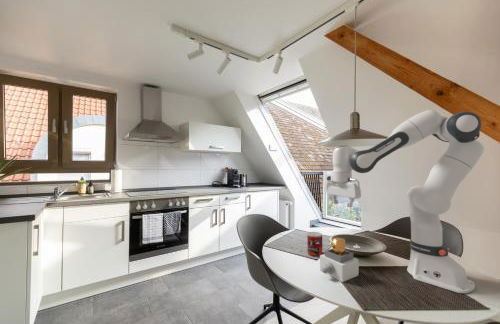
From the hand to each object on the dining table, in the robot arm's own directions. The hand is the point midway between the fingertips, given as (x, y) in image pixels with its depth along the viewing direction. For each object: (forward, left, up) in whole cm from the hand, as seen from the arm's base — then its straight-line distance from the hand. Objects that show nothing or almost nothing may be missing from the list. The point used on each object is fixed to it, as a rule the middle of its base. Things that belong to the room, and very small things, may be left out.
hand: (342, 205), depth 116 cm
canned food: (+14, +5, -28) cm, 32 cm away
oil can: (-7, +13, -21) cm, 26 cm away
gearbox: (-7, +14, -28) cm, 32 cm away
